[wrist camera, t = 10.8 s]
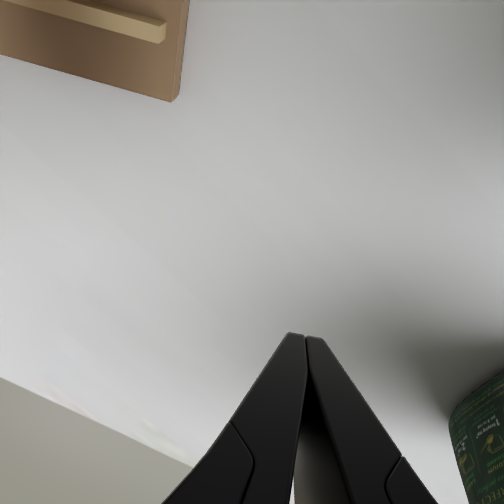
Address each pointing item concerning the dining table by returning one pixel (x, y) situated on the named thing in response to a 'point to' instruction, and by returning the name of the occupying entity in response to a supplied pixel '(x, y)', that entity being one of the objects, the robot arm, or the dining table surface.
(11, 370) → the dining table surface
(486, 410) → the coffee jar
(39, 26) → the trammel board
